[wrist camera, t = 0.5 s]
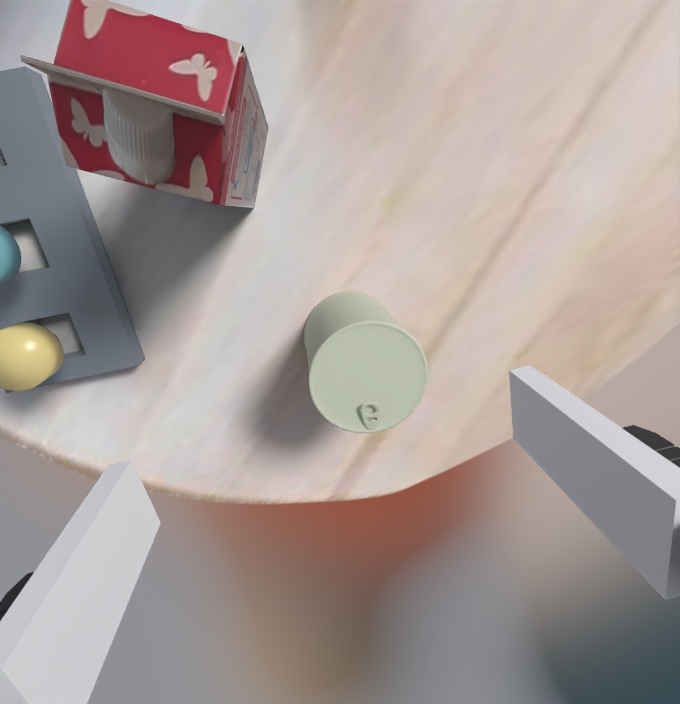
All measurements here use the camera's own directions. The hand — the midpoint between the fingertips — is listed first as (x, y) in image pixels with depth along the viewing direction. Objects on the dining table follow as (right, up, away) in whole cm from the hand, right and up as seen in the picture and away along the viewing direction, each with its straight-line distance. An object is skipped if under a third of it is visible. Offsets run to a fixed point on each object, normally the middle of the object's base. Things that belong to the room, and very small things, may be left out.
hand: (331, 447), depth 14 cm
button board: (-27, +12, +22) cm, 37 cm away
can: (+1, +5, +28) cm, 28 cm away
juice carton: (-10, +20, +21) cm, 31 cm away
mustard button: (-25, +4, +21) cm, 33 cm away
